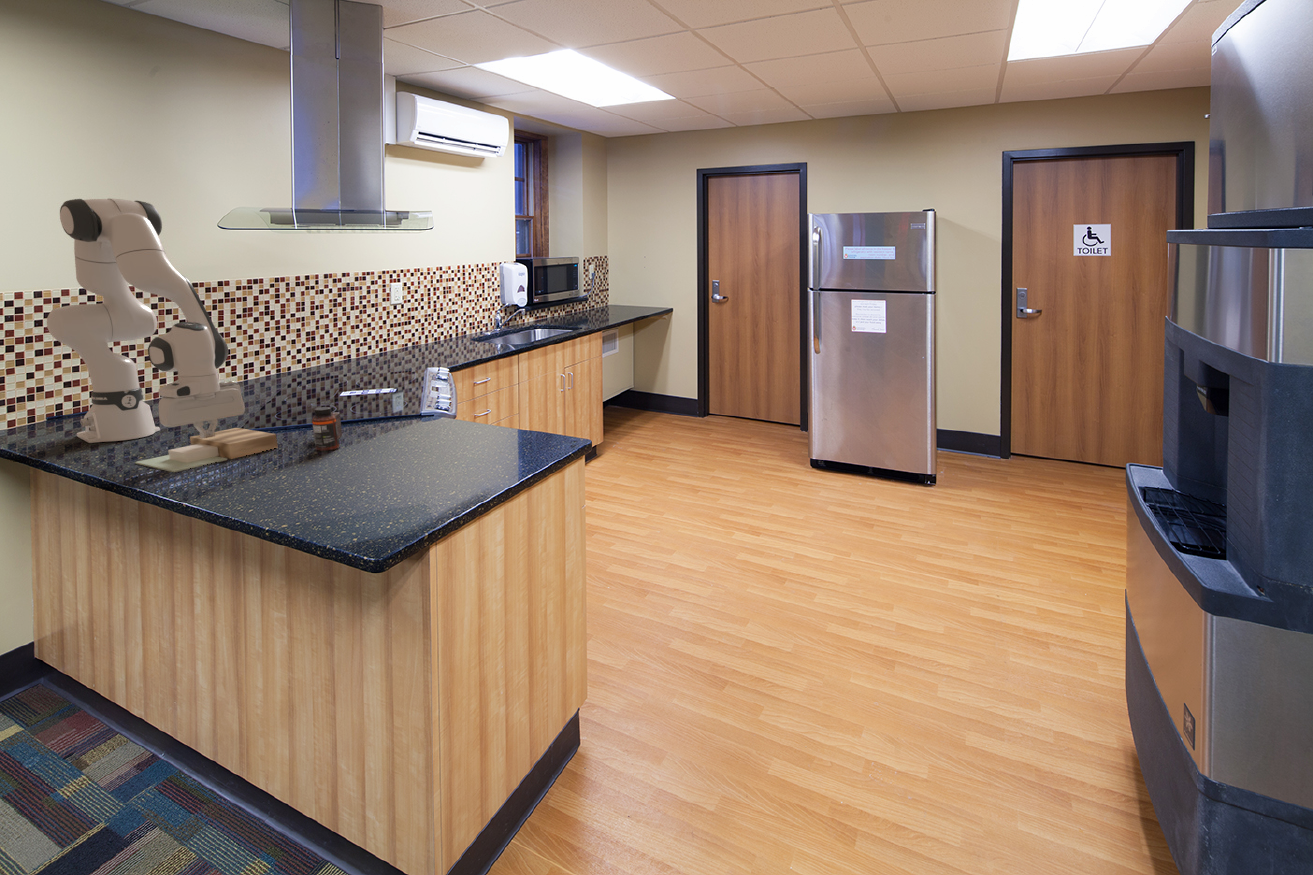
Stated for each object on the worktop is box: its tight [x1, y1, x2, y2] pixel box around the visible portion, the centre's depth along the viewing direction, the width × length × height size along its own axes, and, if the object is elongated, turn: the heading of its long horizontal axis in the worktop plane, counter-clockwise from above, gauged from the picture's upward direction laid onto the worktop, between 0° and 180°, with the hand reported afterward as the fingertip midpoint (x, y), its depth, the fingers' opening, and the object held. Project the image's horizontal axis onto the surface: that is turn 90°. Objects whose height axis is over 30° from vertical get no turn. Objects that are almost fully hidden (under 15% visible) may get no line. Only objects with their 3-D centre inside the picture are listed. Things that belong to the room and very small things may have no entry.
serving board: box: [189, 427, 279, 460], centre depth 195 cm, size 18×13×4 cm
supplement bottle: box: [311, 406, 340, 452], centre depth 194 cm, size 6×6×11 cm
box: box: [313, 412, 343, 440], centre depth 206 cm, size 6×6×7 cm
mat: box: [134, 454, 228, 473], centre depth 184 cm, size 18×13×1 cm
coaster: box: [167, 444, 219, 463], centre depth 186 cm, size 8×8×2 cm
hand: (207, 437), depth 189 cm, fingers closed
